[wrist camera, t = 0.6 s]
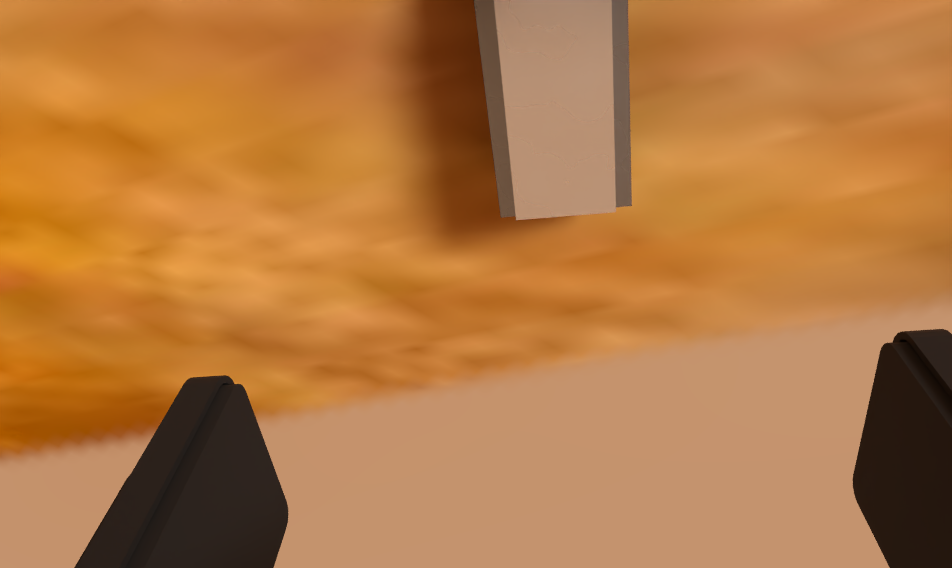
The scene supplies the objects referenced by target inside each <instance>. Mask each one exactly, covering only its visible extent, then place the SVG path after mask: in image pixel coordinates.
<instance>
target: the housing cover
mask: <svg viewBox="0 0 952 568" xmlns="http://www.w3.org/2000/svg"><path fill="white" fill-rule="evenodd" d="M494 7H495V16H496V26H497V36H498V46H499V56H500V66H501V76H502V86H503V96H504V105H505V115H506V125H507V135H508V145H509V155H510V165H511V175H512V185H513V194H514V204H515V214H516V220H525V219H537V218H550V217H562V216H574V215H587V214H599V213H611V212H616V192H615V143H614V94H613V45H612V0H494Z"/></svg>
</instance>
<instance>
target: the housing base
mask: <svg viewBox="0 0 952 568" xmlns="http://www.w3.org/2000/svg"><path fill="white" fill-rule="evenodd" d="M474 6H475V14H476V22H477V30H478V38H479V46H480V54H481V62H482V70H483V79H484V87H485V95H486V103H487V111H488V119H489V127H490V135H491V143H492V151H493V159H494V167H495V175H496V183H497V191H498V199H499V207H500V215H501V218H502V217H513V216H516V214H515V204H514V194H513V185H512V175H511V165H510V155H509V145H508V135H507V125H506V115H505V105H504V96H503V86H502V76H501V66H500V56H499V46H498V36H497V26H496V16H495V7H494V0H474ZM612 45H613V94H614V143H615V192H616V207H623V206H632V200H631V147H630V94H629V41H628V0H612Z"/></svg>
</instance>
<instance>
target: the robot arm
mask: <svg viewBox="0 0 952 568" xmlns="http://www.w3.org/2000/svg"><path fill="white" fill-rule="evenodd" d="M853 489H854V494H855V498H856V500H857V503H858V505H859V507H860V509H861V511H862V513H863V515H864V517H865V519H866V521H867V523H868V525H869V527H870V529H871V531H872V533H873V535H874V537H875V539H876V541H877V543H878V545H879V547H880V549H881V551H882V553H883V555H884V557H885V559H886V561H887V563H888V565H889V567H890V568H952V334H951V333H950V332H948V331H947V330H944V329H936V330H920V331H904V332H900V333H898V334H897V335H896V336H895V337H894V340H893V343H886V344H884V345H883V347H882V348H881V351H880V355H879V360H878V364H877V369H876V374H875V378H874V383H873V388H872V392H871V397H870V401H869V406H868V410H867V415H866V420H865V424H864V428H863V433H862V438H861V442H860V447H859V452H858V456H857V460H856V465H855V470H854V474H853ZM287 523H288V506H287V502H286V499H285V496H284V493H283V491H282V488H281V485H280V482H279V480H278V477H277V475H276V472H275V469H274V466H273V464H272V461H271V458H270V455H269V453H268V450H267V447H266V445H265V442H264V439H263V436H262V434H261V431H260V428H259V426H258V423H257V420H256V417H255V415H254V412H253V409H252V407H251V404H250V401H249V399H248V396H247V393H246V391H245V389H244V387H243V386H242V385H241V384H234V382H233V380H232V379H231V378H230V377H229V376H225V375H224V376H209V377H193V378H190V379H188V380H187V381H186V382H185V383H184V385H183V386H182V388H181V390H180V391H179V393H178V395H177V397H176V398H175V400H174V402H173V403H172V405H171V407H170V408H169V410H168V412H167V414H166V415H165V417H164V419H163V420H162V422H161V424H160V425H159V427H158V429H157V431H156V432H155V434H154V436H153V437H152V439H151V441H150V442H149V444H148V446H147V448H146V449H145V451H144V453H143V454H142V456H141V458H140V459H139V461H138V463H137V465H136V466H135V468H134V470H133V471H132V473H131V474H130V476H129V477H128V478H127V480H126V481H125V483H124V485H123V486H122V488H121V490H120V491H119V493H118V495H117V497H116V498H115V500H114V502H113V503H112V505H111V507H110V508H109V510H108V512H107V513H106V515H105V517H104V519H103V520H102V522H101V523H100V525H99V527H98V529H97V530H96V532H95V534H94V535H93V537H92V539H91V540H90V542H89V544H88V546H87V547H86V549H85V551H84V552H83V554H82V556H81V557H80V559H79V561H78V563H77V564H76V566H75V568H273V567H274V564H275V561H276V558H277V554H278V552H279V549H280V546H281V543H282V540H283V536H284V533H285V530H286V527H287Z"/></svg>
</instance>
